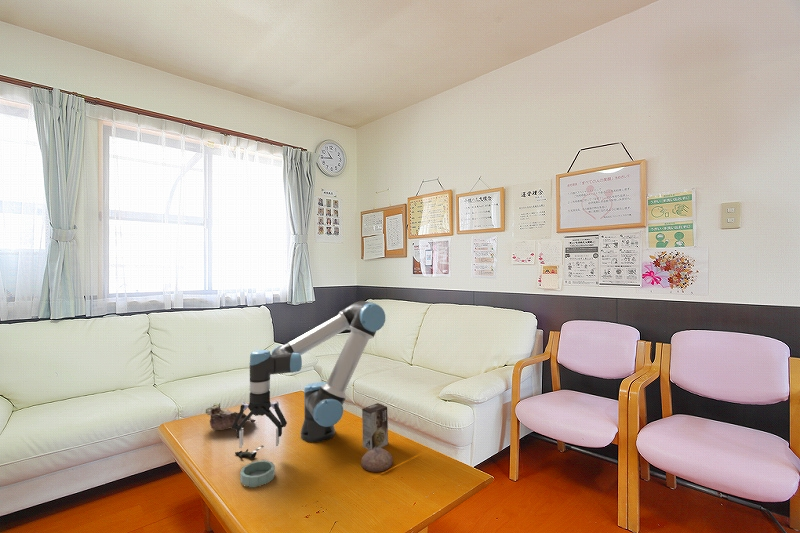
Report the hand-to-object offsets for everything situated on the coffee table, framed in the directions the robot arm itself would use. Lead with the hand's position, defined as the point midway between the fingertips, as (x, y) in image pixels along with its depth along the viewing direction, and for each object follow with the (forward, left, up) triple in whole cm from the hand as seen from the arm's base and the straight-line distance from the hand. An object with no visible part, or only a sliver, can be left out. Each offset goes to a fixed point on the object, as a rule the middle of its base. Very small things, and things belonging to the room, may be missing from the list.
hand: (259, 445), depth 149 cm
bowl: (-2, +13, -6) cm, 14 cm away
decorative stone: (-47, +13, -8) cm, 49 cm away
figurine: (0, -1, -4) cm, 4 cm away
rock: (+23, -35, -7) cm, 42 cm away
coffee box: (-45, -6, -6) cm, 46 cm away
